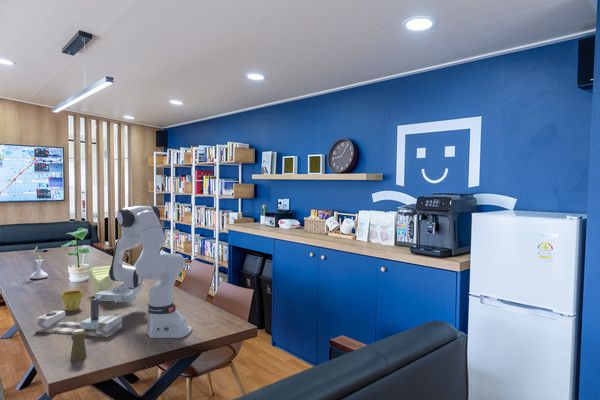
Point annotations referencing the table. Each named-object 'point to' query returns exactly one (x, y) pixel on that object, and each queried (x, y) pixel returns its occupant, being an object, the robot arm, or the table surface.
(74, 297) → the plant pot
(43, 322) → the rail track
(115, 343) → the table surface
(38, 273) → the flower in vase
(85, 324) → the carriage
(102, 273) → the slatted curved stool
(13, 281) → the table surface
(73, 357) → the olive brown pepper mill
